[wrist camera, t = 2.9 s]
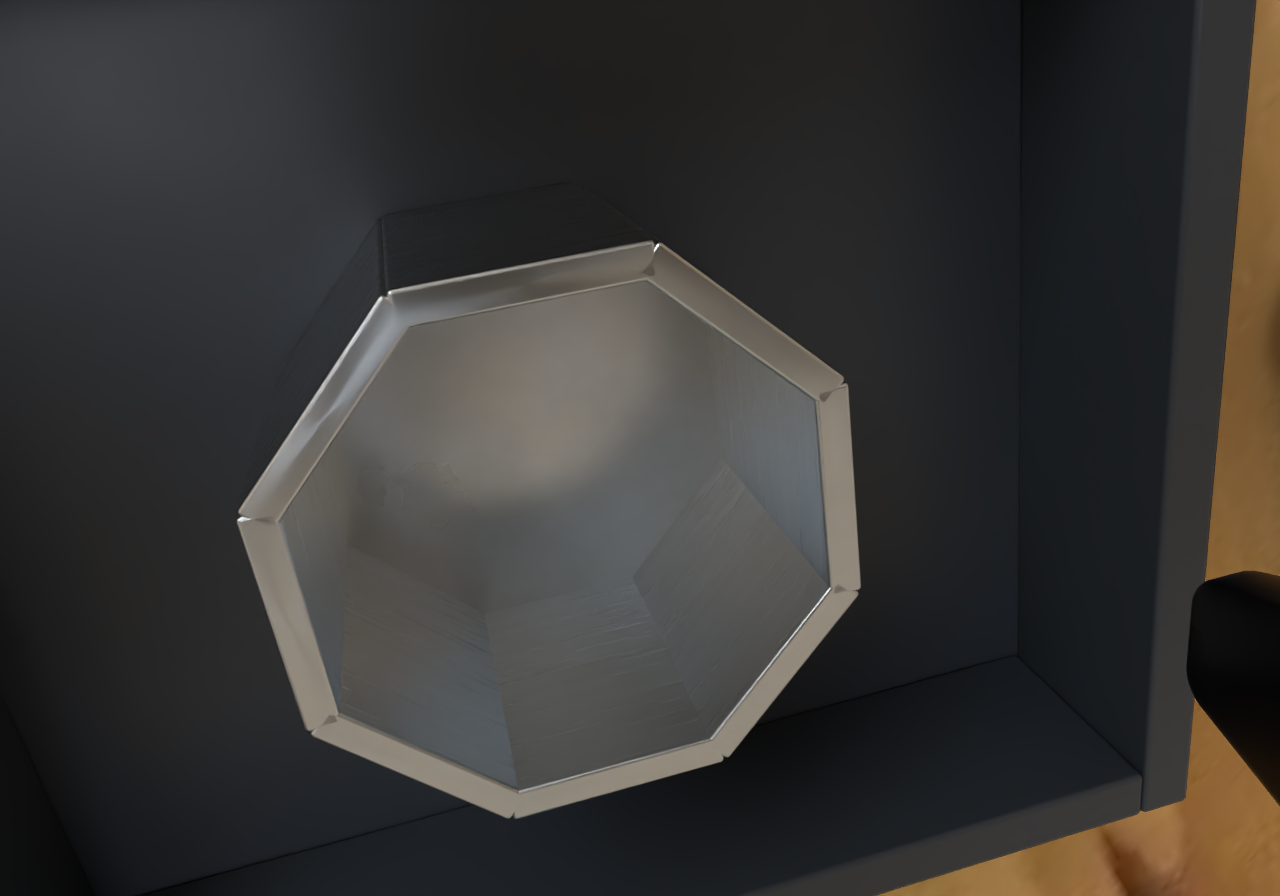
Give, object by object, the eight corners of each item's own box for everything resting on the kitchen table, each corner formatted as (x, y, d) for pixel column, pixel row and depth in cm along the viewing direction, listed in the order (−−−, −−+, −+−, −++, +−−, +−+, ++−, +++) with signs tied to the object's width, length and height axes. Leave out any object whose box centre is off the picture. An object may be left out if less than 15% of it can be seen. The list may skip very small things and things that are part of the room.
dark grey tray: (1053, -226, 14) (1288, -316, 11) (1039, 662, 20) (1187, 801, 16) (-402, -44, 11) (-766, -82, 8) (73, 931, 17) (-8, 1172, 13)
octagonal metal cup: (706, 156, 14) (838, 203, 10) (751, 556, 17) (871, 721, 13) (233, 241, 13) (171, 331, 9) (355, 655, 16) (349, 867, 12)
